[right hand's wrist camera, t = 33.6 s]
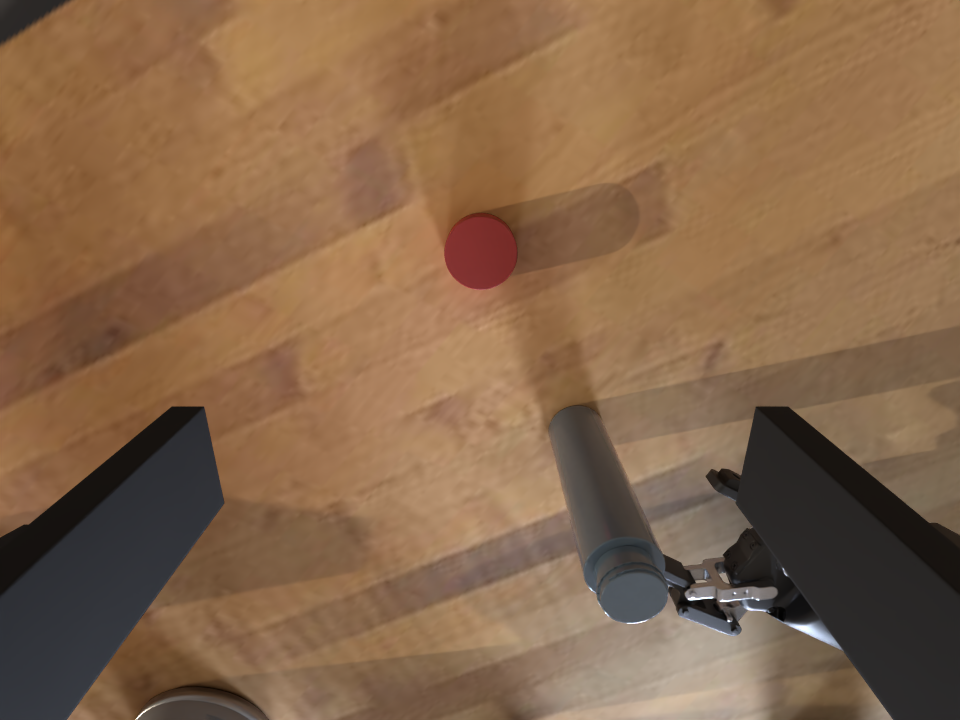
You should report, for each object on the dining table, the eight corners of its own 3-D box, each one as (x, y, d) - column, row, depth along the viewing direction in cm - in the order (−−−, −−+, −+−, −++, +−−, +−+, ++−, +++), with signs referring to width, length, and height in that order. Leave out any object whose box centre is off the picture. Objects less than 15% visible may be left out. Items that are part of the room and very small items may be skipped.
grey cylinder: (614, 430, 45) (696, 600, 28) (572, 462, 47) (626, 644, 29) (579, 394, 44) (643, 549, 27) (537, 428, 45) (572, 597, 28)
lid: (485, 197, 38) (486, 200, 36) (529, 253, 40) (532, 259, 38) (432, 243, 40) (429, 249, 37) (476, 295, 41) (476, 304, 39)
